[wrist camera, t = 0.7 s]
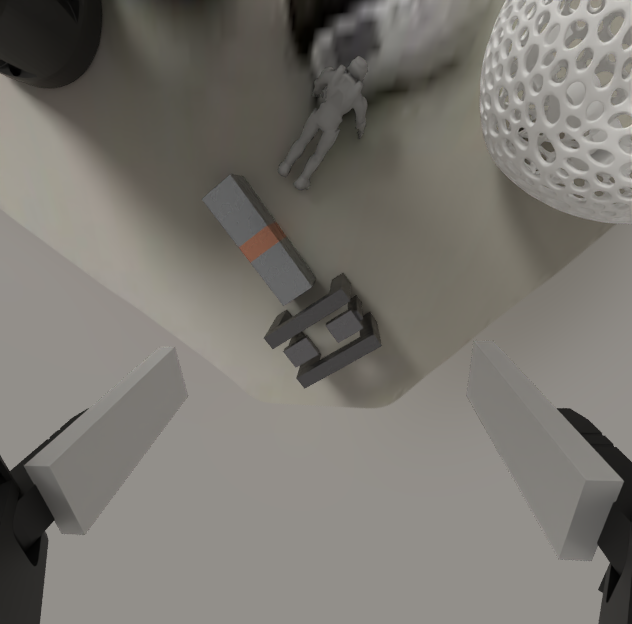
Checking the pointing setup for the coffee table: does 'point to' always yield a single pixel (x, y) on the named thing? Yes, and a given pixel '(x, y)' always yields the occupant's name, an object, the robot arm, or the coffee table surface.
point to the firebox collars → (340, 327)
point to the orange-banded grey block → (259, 238)
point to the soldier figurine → (329, 116)
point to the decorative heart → (561, 105)
